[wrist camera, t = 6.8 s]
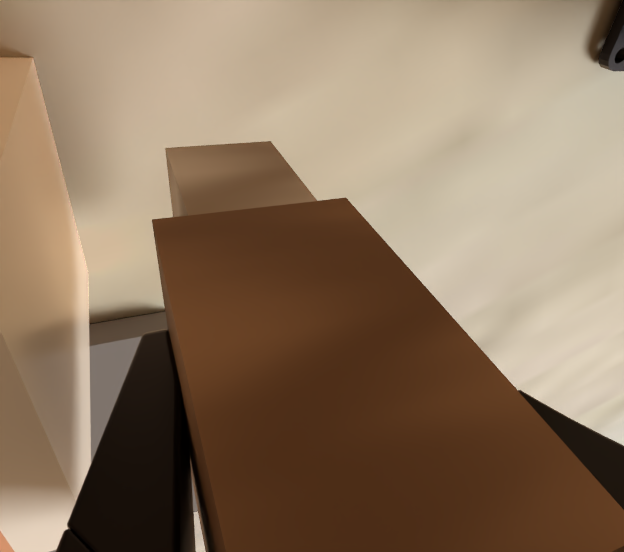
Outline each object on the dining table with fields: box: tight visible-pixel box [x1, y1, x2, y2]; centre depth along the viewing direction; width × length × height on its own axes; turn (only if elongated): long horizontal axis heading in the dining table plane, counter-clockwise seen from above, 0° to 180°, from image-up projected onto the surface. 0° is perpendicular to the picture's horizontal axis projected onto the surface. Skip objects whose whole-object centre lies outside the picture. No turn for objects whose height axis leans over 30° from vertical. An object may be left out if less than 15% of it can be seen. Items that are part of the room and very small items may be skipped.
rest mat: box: [50, 312, 198, 552], centre depth 17 cm, size 12×12×1 cm
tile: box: [0, 57, 91, 552], centre depth 9 cm, size 2×6×8 cm, turn 175°
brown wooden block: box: [152, 141, 624, 552], centre depth 7 cm, size 3×5×8 cm, turn 176°
